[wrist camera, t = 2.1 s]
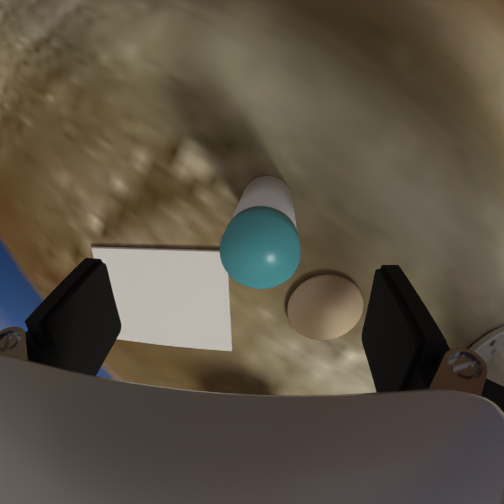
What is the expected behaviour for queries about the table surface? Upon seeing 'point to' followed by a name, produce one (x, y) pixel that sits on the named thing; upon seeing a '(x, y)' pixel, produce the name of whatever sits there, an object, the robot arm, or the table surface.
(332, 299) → the disc
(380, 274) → the robot arm
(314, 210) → the table surface
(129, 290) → the paper
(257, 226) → the marker
